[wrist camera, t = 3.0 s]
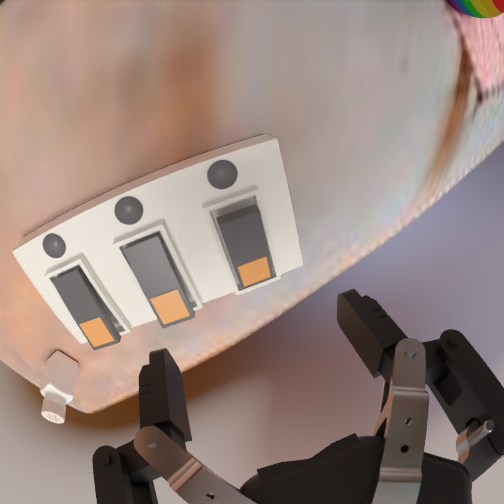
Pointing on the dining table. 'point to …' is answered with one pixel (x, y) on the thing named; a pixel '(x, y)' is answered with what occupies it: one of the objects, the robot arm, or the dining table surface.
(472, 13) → the decorative egg
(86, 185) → the dining table surface
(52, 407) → the pepper shaker
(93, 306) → the rocker
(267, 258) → the rocker
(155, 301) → the rocker middle
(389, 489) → the robot arm
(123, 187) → the rocker switch panel
